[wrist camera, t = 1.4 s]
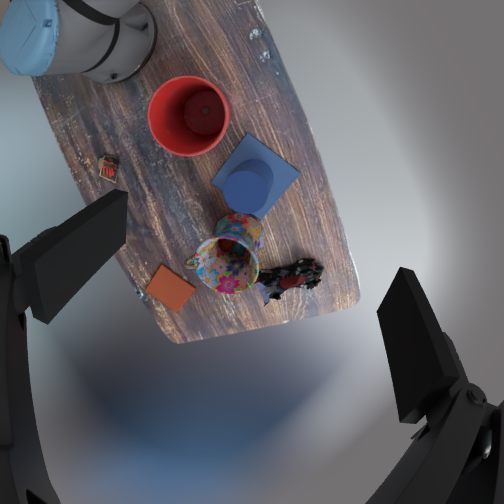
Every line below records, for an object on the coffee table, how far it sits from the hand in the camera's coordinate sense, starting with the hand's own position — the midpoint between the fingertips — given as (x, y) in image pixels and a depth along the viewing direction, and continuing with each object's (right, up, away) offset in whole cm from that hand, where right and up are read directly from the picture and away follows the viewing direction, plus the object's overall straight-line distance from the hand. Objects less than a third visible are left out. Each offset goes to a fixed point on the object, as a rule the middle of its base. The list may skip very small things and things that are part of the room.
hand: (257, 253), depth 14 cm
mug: (-3, +3, +40) cm, 40 cm away
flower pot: (-7, +21, +31) cm, 38 cm away
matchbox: (-25, +15, +37) cm, 48 cm away
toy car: (+7, -4, +42) cm, 42 cm away
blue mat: (0, +12, +34) cm, 36 cm away
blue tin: (0, +11, +34) cm, 36 cm away
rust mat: (-16, -7, +47) cm, 50 cm away
